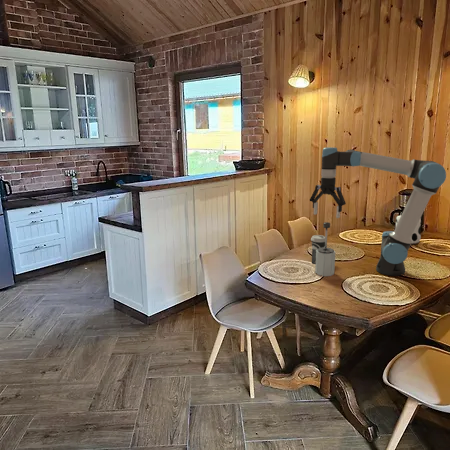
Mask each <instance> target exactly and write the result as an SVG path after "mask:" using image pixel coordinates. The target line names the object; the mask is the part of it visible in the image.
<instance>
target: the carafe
mask: <svg viewBox="0 0 450 450" xmlns="http://www.w3.org/2000/svg"><path fill="white" fill-rule="evenodd" d="M315 252H316V261H315ZM324 253H326V254H324ZM335 263H336V250H334V248H331V247H327V251H325V247H322V248H318V249H312V248H311V264H312V265H315V267H314V269H315V271H314V272H315V274H316V273H317V274H318V275H317V274H316V275H317V276H321V275H322V276H321V277H332V276H333V275H335V270H336V269H335V267H336V264H335Z"/></svg>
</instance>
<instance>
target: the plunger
mask: <svg viewBox="0 0 450 450" xmlns="http://www.w3.org/2000/svg"><path fill="white" fill-rule="evenodd" d="M322 227H323V229H325V233H324V234H325V235H324V236H325V251H327V248H328V229H329V228H331V223H330V222H327V221H324V222H323V223H322ZM324 254H326V253H324Z"/></svg>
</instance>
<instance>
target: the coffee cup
mask: <svg viewBox="0 0 450 450" xmlns="http://www.w3.org/2000/svg"><path fill="white" fill-rule="evenodd" d="M310 241H311V250H312V249H318V248H322V247H325V235H322V234H321V235H320V234H315V235H312V236H311V238H310ZM315 262H316V252H315Z"/></svg>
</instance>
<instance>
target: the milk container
mask: <svg viewBox="0 0 450 450" xmlns="http://www.w3.org/2000/svg"><path fill="white" fill-rule="evenodd" d="M401 215H402V214H401ZM401 215H398V216H396V219H395V227H396V226H397V224H398V221H399V219H400V217H401ZM421 219H422V217H421V218H420V220H419V222H418V224H417V226H416V228H415V230H414V232H413V234H412V236H411V238H410V239H411V241H412V243H411V245H416V244H417V245H418V244H419V243H420V241H421V238H422V237H421V236H422V235H421V223H422V220H421Z"/></svg>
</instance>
